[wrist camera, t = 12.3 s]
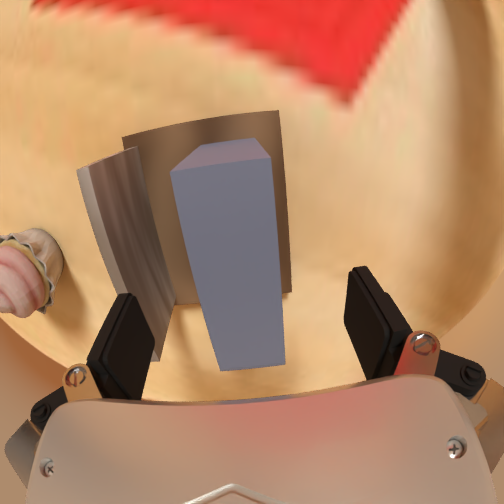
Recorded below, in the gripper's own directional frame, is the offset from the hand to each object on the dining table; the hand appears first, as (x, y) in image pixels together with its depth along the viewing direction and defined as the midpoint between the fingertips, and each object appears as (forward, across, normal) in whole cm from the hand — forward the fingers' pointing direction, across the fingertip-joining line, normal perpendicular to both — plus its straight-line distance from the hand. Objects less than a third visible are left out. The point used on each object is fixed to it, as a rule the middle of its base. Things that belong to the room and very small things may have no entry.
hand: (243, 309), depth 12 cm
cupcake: (+13, +22, +1) cm, 26 cm away
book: (+12, 0, 0) cm, 12 cm away
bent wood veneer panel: (+13, +2, 0) cm, 13 cm away
